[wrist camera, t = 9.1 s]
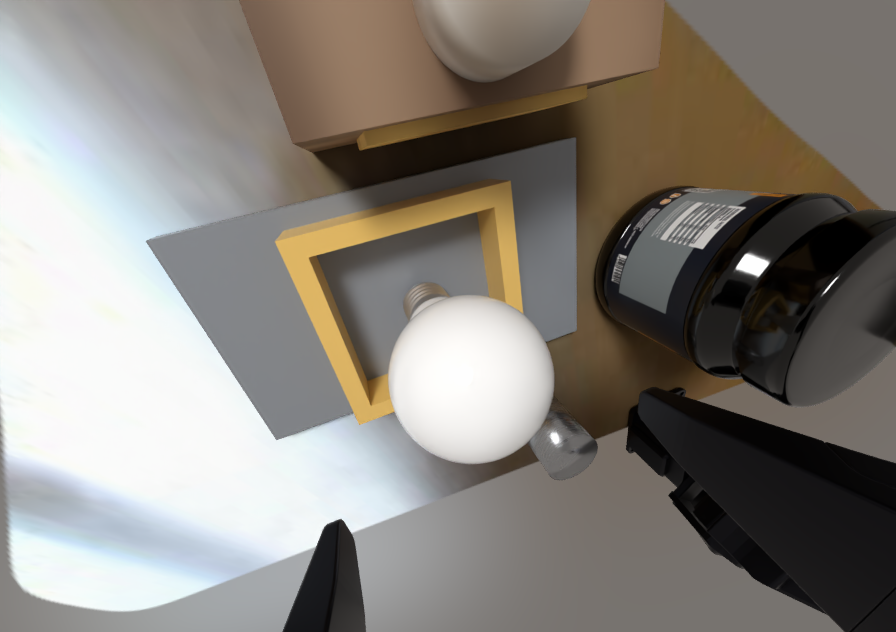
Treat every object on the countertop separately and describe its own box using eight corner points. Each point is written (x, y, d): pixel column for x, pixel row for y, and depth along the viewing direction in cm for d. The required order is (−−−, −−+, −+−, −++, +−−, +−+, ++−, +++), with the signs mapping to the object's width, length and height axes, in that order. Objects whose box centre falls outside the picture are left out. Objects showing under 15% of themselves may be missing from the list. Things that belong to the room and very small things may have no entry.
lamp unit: (525, -18, 15) (769, -252, 7) (533, 113, 18) (716, 67, 9) (264, 18, 13) (127, -259, 5) (315, 161, 16) (290, 159, 7)
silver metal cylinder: (548, 377, 27) (598, 428, 22) (550, 411, 29) (596, 466, 24) (505, 394, 26) (546, 450, 21) (509, 428, 28) (548, 487, 23)
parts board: (565, 138, 19) (608, 133, 16) (568, 324, 25) (599, 346, 22) (156, 236, 15) (111, 254, 12) (279, 428, 21) (269, 473, 18)
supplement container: (666, 320, 29) (854, 410, 18) (570, 318, 25) (734, 428, 15) (723, 195, 25) (1005, 218, 14) (618, 172, 21) (891, 180, 11)
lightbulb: (465, 341, 22) (565, 484, 12) (368, 347, 20) (400, 524, 10) (479, 248, 19) (619, 340, 10) (369, 244, 17) (411, 356, 8)
